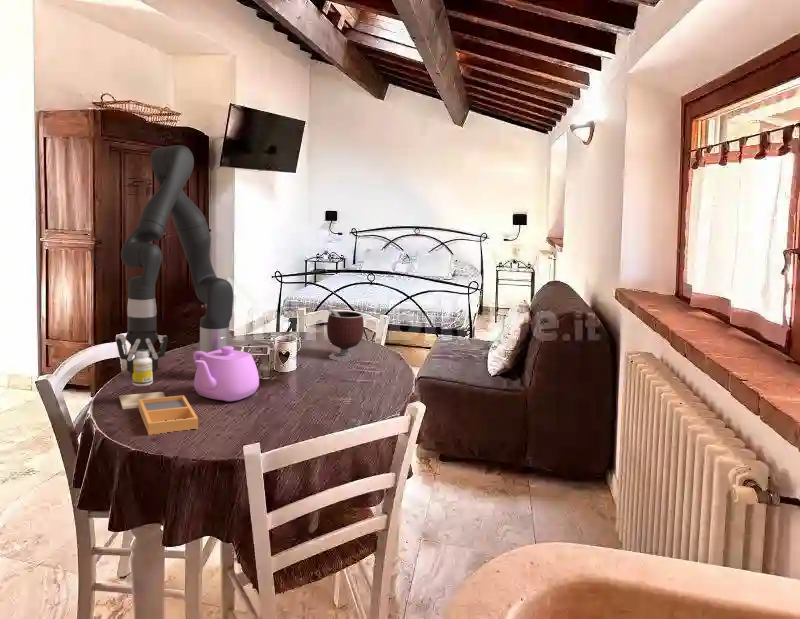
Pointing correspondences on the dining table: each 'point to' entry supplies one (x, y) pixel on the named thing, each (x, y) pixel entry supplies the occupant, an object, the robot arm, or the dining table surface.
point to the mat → (137, 399)
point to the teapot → (225, 374)
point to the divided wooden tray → (167, 414)
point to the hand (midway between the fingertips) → (142, 371)
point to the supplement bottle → (142, 368)
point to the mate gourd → (344, 330)
